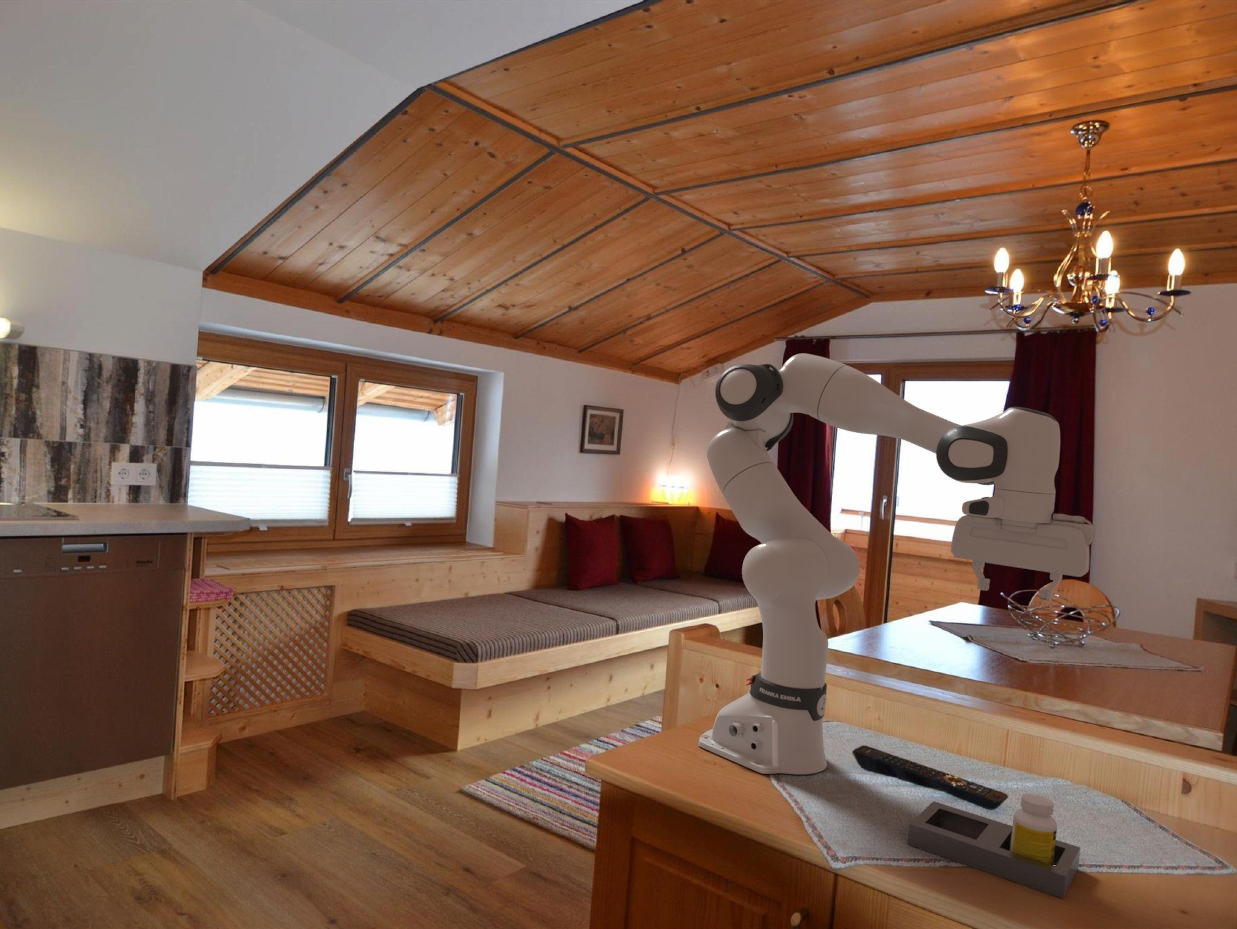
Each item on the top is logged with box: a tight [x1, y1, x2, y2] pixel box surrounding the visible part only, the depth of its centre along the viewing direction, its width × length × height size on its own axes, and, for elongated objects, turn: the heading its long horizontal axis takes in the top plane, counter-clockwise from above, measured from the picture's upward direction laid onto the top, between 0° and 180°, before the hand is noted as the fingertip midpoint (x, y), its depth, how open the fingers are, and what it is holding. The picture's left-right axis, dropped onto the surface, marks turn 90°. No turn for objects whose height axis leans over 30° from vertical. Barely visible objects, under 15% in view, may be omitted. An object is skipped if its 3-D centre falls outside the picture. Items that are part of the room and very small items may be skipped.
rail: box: [907, 800, 1081, 900], centre depth 122 cm, size 20×11×3 cm, turn 54°
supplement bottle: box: [1010, 793, 1058, 865], centre depth 119 cm, size 5×5×10 cm
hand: (1013, 595), depth 140 cm, fingers open, 8 cm apart
